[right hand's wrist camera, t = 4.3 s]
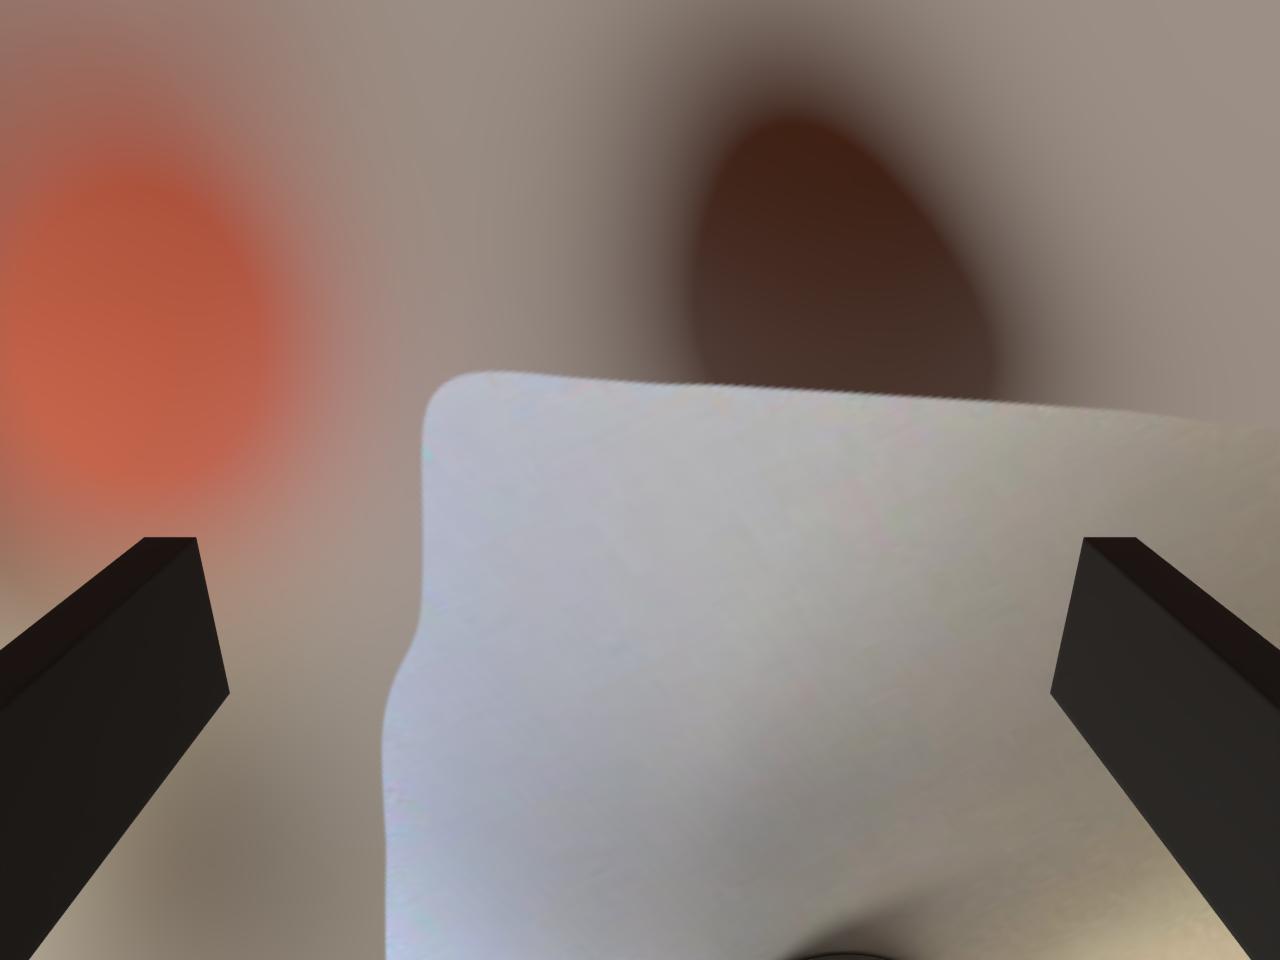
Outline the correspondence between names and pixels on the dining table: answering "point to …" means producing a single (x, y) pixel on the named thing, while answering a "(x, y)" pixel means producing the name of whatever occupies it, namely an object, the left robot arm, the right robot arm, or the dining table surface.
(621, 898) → the dining table surface
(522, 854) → the dining table surface
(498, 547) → the dining table surface
